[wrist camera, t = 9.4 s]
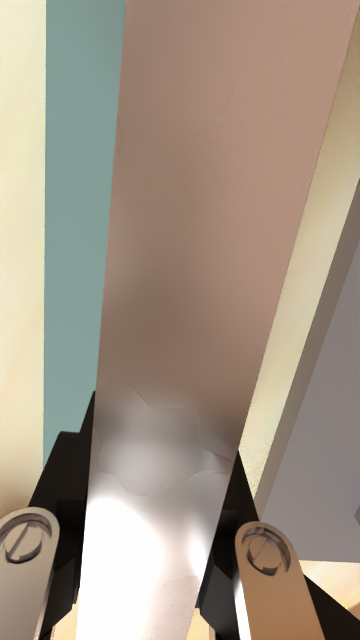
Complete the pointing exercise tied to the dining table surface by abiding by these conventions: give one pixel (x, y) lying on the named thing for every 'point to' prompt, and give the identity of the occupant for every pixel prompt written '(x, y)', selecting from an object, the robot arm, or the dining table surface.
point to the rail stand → (322, 423)
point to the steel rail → (194, 281)
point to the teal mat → (77, 198)
